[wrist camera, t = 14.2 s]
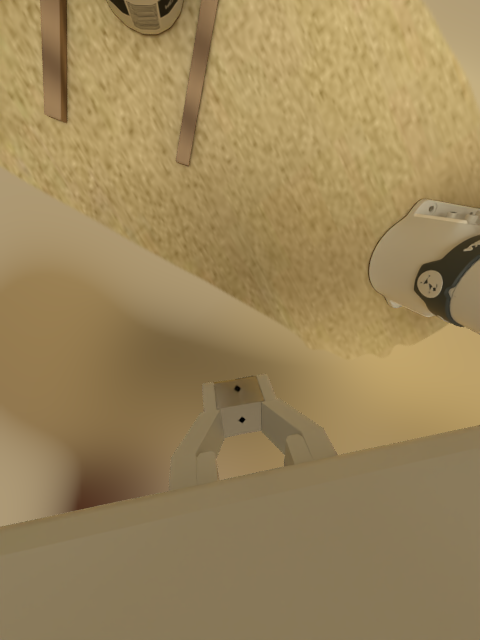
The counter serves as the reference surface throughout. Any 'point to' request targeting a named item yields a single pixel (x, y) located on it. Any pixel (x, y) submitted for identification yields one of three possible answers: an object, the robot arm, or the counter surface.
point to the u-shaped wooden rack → (57, 67)
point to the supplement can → (147, 14)
